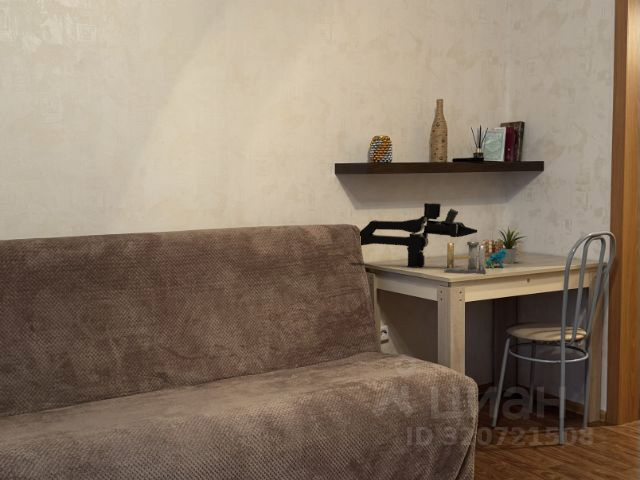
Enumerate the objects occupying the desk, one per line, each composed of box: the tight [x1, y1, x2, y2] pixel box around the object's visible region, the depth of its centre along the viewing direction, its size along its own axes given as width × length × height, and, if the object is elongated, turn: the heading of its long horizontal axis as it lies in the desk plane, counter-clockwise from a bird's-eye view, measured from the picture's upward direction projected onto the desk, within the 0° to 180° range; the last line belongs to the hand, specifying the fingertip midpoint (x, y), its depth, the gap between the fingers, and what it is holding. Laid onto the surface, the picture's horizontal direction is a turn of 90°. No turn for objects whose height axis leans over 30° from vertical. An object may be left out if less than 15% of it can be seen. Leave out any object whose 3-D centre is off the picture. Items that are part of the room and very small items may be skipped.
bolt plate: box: [443, 267, 487, 275], centre depth 315 cm, size 16×6×1 cm, turn 76°
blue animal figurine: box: [485, 249, 507, 269], centre depth 332 cm, size 11×6×10 cm
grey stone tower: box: [466, 241, 486, 271], centre depth 320 cm, size 5×18×11 cm, turn 8°
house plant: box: [496, 226, 528, 264], centre depth 348 cm, size 14×14×16 cm
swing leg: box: [446, 242, 471, 269], centre depth 321 cm, size 13×3×10 cm, turn 129°
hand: (476, 231), depth 325 cm, fingers open, 9 cm apart
